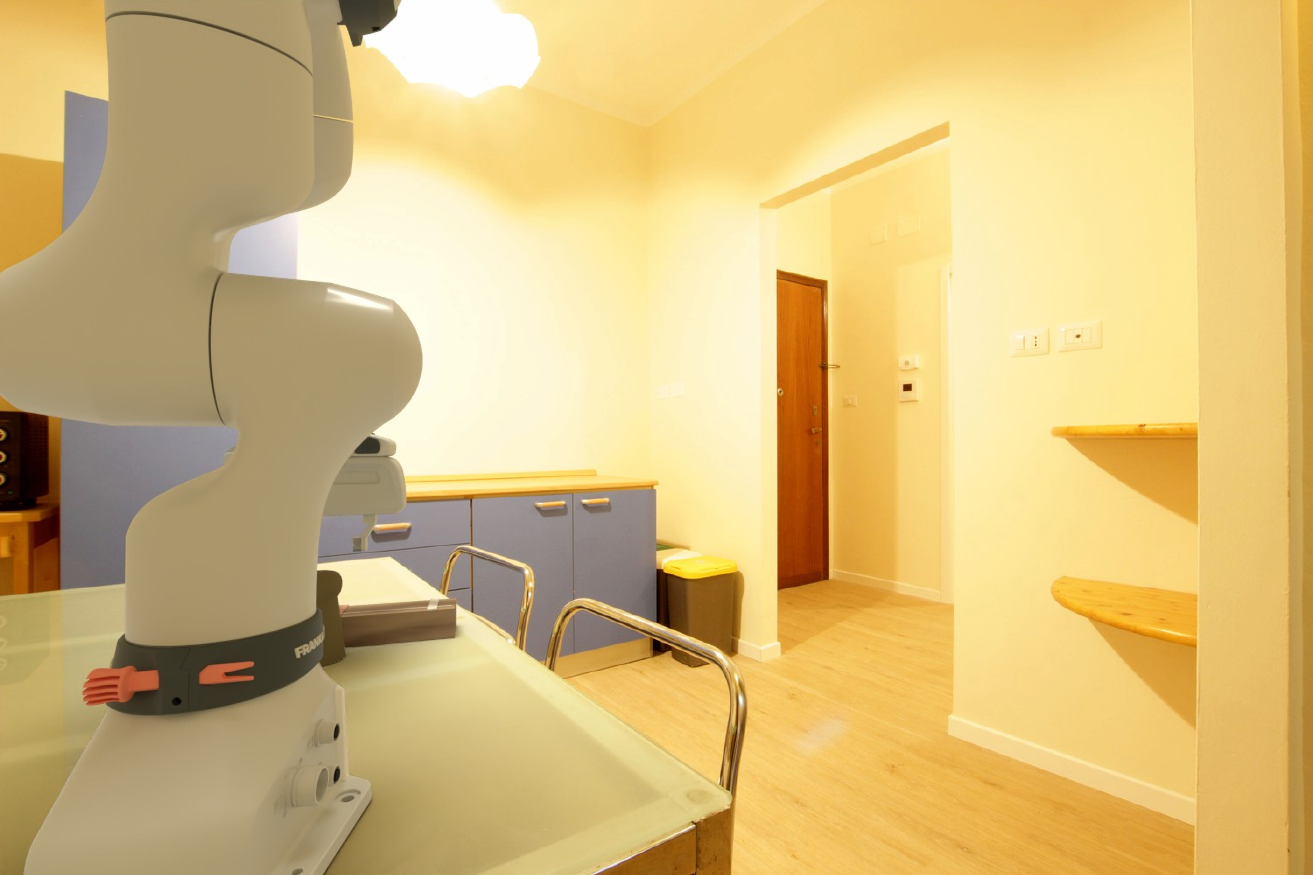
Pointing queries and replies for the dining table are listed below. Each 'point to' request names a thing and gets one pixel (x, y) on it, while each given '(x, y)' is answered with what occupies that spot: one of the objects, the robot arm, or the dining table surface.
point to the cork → (330, 615)
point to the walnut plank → (398, 622)
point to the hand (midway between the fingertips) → (318, 553)
